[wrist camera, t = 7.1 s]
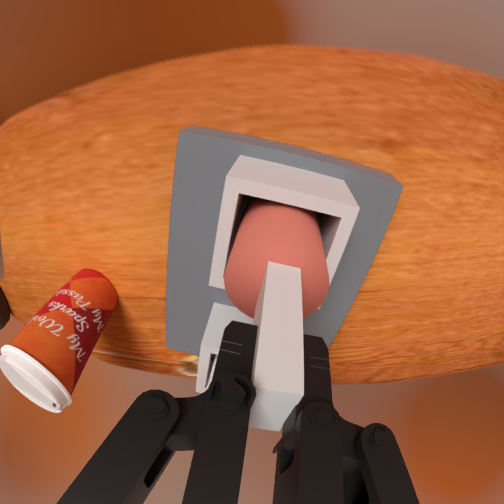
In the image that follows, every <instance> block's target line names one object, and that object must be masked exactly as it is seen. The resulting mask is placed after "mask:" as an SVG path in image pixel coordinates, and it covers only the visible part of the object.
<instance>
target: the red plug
mask: <svg viewBox="0 0 504 504" xmlns="http://www.w3.org/2000/svg"><path fill="white" fill-rule="evenodd" d="M268 261H270V262H274V263H279V264H283V265H288V266H292V267H297V268H301V285H302V310H303V318H305V317H307V316H308V315H310V314H312V313H313V312H314V311H315V310H317V309H318V308H319V306H320V305H321V304H322V303H323V301H324V300H325V298H326V296H327V293H328V289H329V274H328V268H327V263H326V258H325V253H324V247H323V242H322V237H321V233H320V228H319V223H318V218H317V214H316V211H313V210H309V209H305V208H301V207H297V206H293V205H289V204H284V203H280V202H276V201H272V200H267V199H263V198H259V197H253V198H252V199H251V200H250V201H249V203H248V204H247V206H246V208H245V211H244V214H243V217H242V220H241V223H240V226H239V229H238V232H237V235H236V238H235V242H234V245H233V248H232V251H231V254H230V257H229V260H228V263H227V267H226V270H225V274H224V286H225V290H226V293H227V295H228V297H229V299H230V300H231V302H232V303H233V304H234V306H235V307H236V308H237V309H239V310H240V311H241V312H242V313H244V314H245V315H247V316H249V317H251V318H253V319H254V315H255V308H256V304H257V300H258V297H259V293H260V289H261V286H262V282H263V278H264V275H265V271H266V267H267V264H268Z"/></svg>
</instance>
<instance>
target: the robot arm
mask: <svg viewBox="0 0 504 504" xmlns="http://www.w3.org/2000/svg"><path fill="white" fill-rule="evenodd" d="M9 319H10V311H9V307H8V304H7V301H6V299H5V297H4V295H3V293H2V291H1V289H0V329H2V328H3V327H4V326H5V325H6V323H7V322H8V321H9ZM329 368H330V365H329V354H328V347H327V345H326V344H325V342H324V340H323V338H322V337H318V336H312V335H307V334H303V310H302V285H301V268H297V267H292V266H288V265H283V264H279V263H274V262H270V261H268V264H267V267H266V271H265V275H264V278H263V282H262V286H261V289H260V293H259V297H258V300H257V304H256V308H255V315H254V322H253V325H252V324H247V323H243V322H238V321H234V320H232V321H231V322H230V323H229V324H228V325H227V326H226V327H225V329H224V333H223V337H222V341H221V345H220V349H219V353H218V357H217V361H216V365H215V369H214V373H213V377H212V381H211V383H210V385H209V387H208V389H207V390H206V391H205V392H204V393H202V394H200V395H198V396H195V397H189V398H174V397H173V396H172V395H170V394H169V393H168V392H165V391H162V390H149V391H146V392H143V393H142V394H141V395H140V396H138V397H137V398H136V400H135V401H134V402H133V404H132V405H131V406H130V408H129V409H128V410H127V412H126V413H125V414H124V415H123V417H122V418H121V419H120V421H119V422H118V423H117V425H116V426H115V427H114V429H113V430H112V431H111V433H110V434H109V435H108V436H107V438H106V439H105V441H104V442H103V443H102V445H101V446H100V447H99V448H98V450H97V451H96V452H95V454H94V455H93V456H92V458H91V459H90V460H89V461H88V463H87V464H86V465H85V467H84V468H83V470H82V471H81V472H80V473H79V475H78V476H77V477H76V479H75V480H74V481H73V482H72V484H71V485H70V486H69V488H68V489H67V491H66V492H65V493H64V494H63V496H62V497H61V498H60V500H59V501H58V502H57V504H143V503H144V501H145V500H146V498H147V496H148V495H149V493H150V492H151V490H152V489H153V487H154V485H155V484H156V482H157V481H158V479H159V477H160V476H161V474H162V473H163V471H164V469H165V468H166V466H167V465H168V463H169V461H170V460H171V458H172V456H173V455H174V453H175V451H185V450H194V454H193V458H192V462H191V467H190V471H189V475H188V480H187V484H186V489H185V493H184V497H183V501H182V504H237V503H238V496H239V490H240V483H241V476H242V468H243V461H244V455H245V447H246V440H247V432H248V427H252V428H259V429H265V430H271V431H280V429H281V428H282V427H283V433H282V438H281V439H280V441H279V442H278V443H277V444H276V446H275V447H274V449H273V453H276V452H277V463H276V473H275V484H274V495H273V504H419V501H418V499H417V496H416V493H415V490H414V487H413V484H412V481H411V478H410V476H409V473H408V470H407V468H406V465H405V462H404V460H403V457H402V454H401V452H400V449H399V446H398V444H397V441H396V439H395V437H394V434H393V433H392V431H391V430H390V429H389V428H388V427H387V426H385V425H383V424H380V423H373V424H370V425H368V426H366V427H365V428H364V427H361V426H358V425H356V424H353V423H350V422H348V421H346V420H344V419H343V418H342V417H340V416H339V413H338V412H337V411H336V410H335V408H334V407H333V403H332V390H331V377H330V370H329Z"/></svg>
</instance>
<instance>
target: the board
mask: <svg viewBox="0 0 504 504" xmlns="http://www.w3.org/2000/svg"><path fill="white" fill-rule="evenodd" d="M402 189H403V186H402V185H401V184H400V183H399V182H398V181H397V180H396V179H395V178H394V177H393V176H392V175H391V174H388V173H385V172H382V171H379V170H376V169H373V168H370V167H367V166H364V165H361V164H357V163H354V162H351V161H348V160H344V159H341V158H337V157H334V156H330V155H327V154H323V153H320V152H316V151H312V150H308V149H304V148H300V147H297V146H292V145H288V144H284V143H280V142H276V141H271V140H267V139H262V138H257V137H253V136H248V135H243V134H238V133H232V132H227V131H221V130H216V129H210V128H204V127H197V126H190V127H188V128H186V129H183V130H181V131H179V137H178V145H177V153H176V161H175V170H174V180H173V190H172V201H171V213H170V226H169V241H168V260H167V286H166V347H167V348H170V349H174V350H177V351H181V352H185V353H189V354H193V355H197V356H199V365H198V373H197V383H196V392H200V393H204V392H205V391H206V390H207V386H208V382H209V378H210V374H211V370H212V366H213V362H214V358H215V354H216V355H218V353H219V349H220V345H221V341H222V337H223V333H224V329H225V327H226V326H227V325H228V324H229V323H230V322H231V321H232V320H234V321H238V322H243V323H247V324H252V325H253V322H254V319H253V318H251V317H249V316H247V315H245V314H244V313H242V312H241V311H240V310H239V309H237V308H236V307H235V306H234V304H233V303H232V302H231V300H230V299H229V297H228V295H227V293H226V290H225V286H224V274H225V270H226V267H227V263H228V260H229V257H230V254H231V251H232V248H233V245H234V242H235V238H236V235H237V232H238V229H239V226H240V223H241V220H242V217H243V214H244V211H245V208H246V206H247V204H248V203H249V201H250V200H251V199H252V198H253V197H259V198H263V199H267V200H272V201H276V202H280V203H284V204H289V205H293V206H297V207H301V208H305V209H309V210H313V211H316V214H317V218H318V223H319V228H320V233H321V237H322V242H323V247H324V253H325V258H326V263H327V268H328V274H329V289H328V293H327V296H326V298H325V300H324V301H323V303H322V304H321V305H320V306H319V308H318V309H317V310H315V311H314V312H313V313H312V314H310V315H308V316H307V317H305V318H303V334H307V335H312V336H318V337H322V338H323V340H324V342H325V344H326V345H327V347H328V348H329V346H330V345H331V343H332V341H333V339H334V337H335V336H336V334H337V332H338V330H339V328H340V326H341V325H342V323H343V321H344V319H345V317H346V315H347V313H348V311H349V309H350V307H351V305H352V303H353V301H354V299H355V297H356V295H357V293H358V291H359V289H360V287H361V285H362V283H363V281H364V279H365V277H366V275H367V273H368V270H369V268H370V266H371V264H372V262H373V260H374V257H375V255H376V253H377V251H378V248H379V246H380V244H381V241H382V239H383V237H384V234H385V232H386V230H387V227H388V225H389V222H390V220H391V217H392V215H393V212H394V210H395V207H396V205H397V202H398V200H399V197H400V194H401V192H402Z"/></svg>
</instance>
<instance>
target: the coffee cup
mask: <svg viewBox="0 0 504 504" xmlns="http://www.w3.org/2000/svg"><path fill="white" fill-rule="evenodd" d="M116 303H117V293H116V291H115V288H114V287H113V285H112V284H111V282H110V281H109V280H108V279H107V278H106V277H105V276H104V275H102V274H101V273H99V272H97V271H95V270H92V269H83V270H81V271H79V272H78V273H77V274H76V275H74V276H73V277H72V278H71V279H70V280H69V281H68V282H67V283H66V284H65V285H64V286H63V287H62V288H61V289H60V290H59V291H58V292H57V293H56V294H55V295H54V296H53V297H52V298H51V299H50V300H49V301H48V302H47V303H46V304H45V305H44V306H43V307H42V308H41V309H40V310H39V312H38V313H37V314H36V315H35V316H34V317H33V318H32V319H31V320H30V321H29V322H28V324H27V325H26V326H25V327H24V328H23V329H22V330H21V332H19V334H18V335H17V336H16V337H15V338H14V339H13V341H12V342H11V343H10V344H9V345H4V346H3V347H2V348H1V353H2V355H0V367H1V370H2V372H3V373H4V375H5V376H6V377H7V379H8V380H9V381H10V382H11V383H12V385H13V386H14V387H16V389H18V390H19V391H20V392H21V393H22V394H23V395H24V396H26V397H27V398H28V399H30V400H31V401H32V402H34V403H35V404H37V405H38V406H40V407H42V408H44V409H46V410H48V411H51V412H54V413H59V412H61V411H62V410H63V409H64V408H65V407H67V406H69V405H71V403H72V399H71V395H72V392H73V390H74V388H75V386H76V384H77V381H78V379H79V377H80V375H81V373H82V371H83V369H84V367H85V364H86V363H87V361H88V359H89V357H90V355H91V353H92V351H93V349H94V347H95V345H96V343H97V341H98V339H99V337H100V335H101V333H102V331H103V329H104V327H105V325H106V323H107V321H108V319H109V317H110V316H111V314H112V312H113V310H114V308H115V305H116Z"/></svg>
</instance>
